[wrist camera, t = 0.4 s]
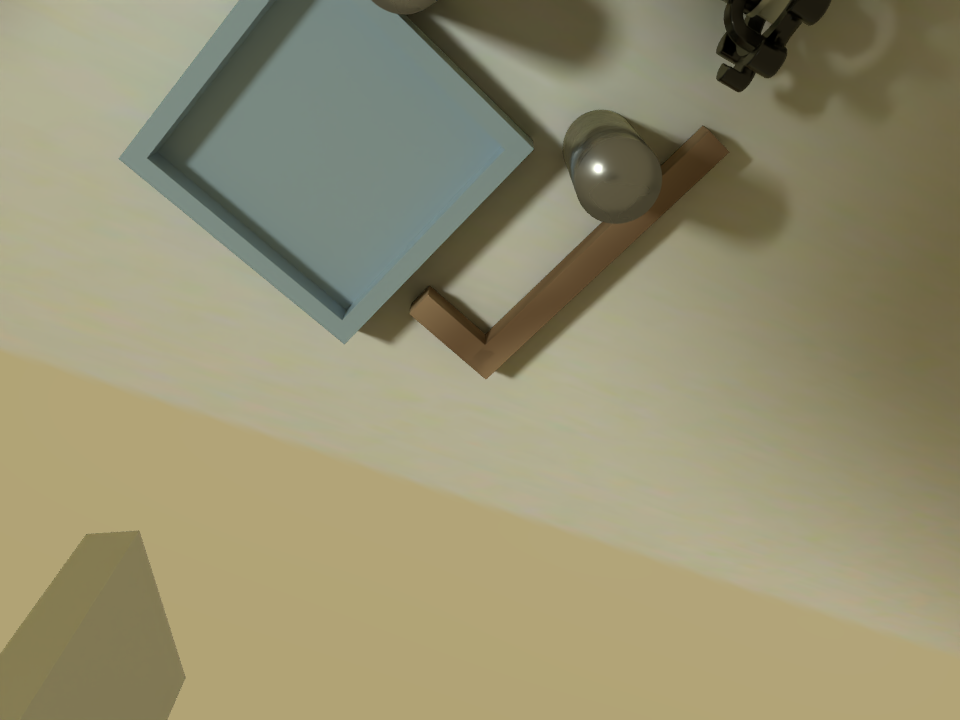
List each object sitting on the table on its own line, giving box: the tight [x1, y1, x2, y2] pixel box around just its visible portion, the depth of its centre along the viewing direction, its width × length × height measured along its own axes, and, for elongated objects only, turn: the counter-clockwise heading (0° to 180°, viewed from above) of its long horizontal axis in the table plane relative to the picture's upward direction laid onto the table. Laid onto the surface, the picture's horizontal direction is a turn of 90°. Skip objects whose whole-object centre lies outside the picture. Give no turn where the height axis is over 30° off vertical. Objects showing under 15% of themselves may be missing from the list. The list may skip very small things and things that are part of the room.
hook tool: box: [409, 126, 729, 379], centre depth 36 cm, size 5×14×1 cm, turn 137°
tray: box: [119, 0, 534, 344], centre depth 34 cm, size 12×12×2 cm
